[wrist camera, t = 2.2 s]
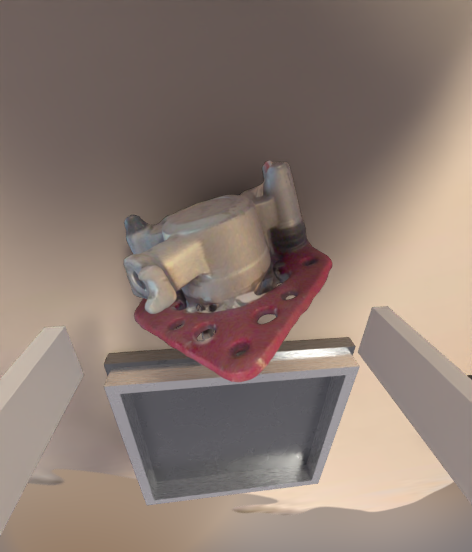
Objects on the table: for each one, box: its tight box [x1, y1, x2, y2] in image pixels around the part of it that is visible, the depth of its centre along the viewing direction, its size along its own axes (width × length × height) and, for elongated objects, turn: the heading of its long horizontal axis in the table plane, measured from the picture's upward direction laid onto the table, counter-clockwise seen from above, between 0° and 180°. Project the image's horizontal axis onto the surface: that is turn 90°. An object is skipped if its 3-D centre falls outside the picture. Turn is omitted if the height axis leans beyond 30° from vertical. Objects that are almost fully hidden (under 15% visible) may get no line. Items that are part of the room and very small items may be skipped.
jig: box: [104, 337, 359, 505], centre depth 27 cm, size 22×22×3 cm
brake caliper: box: [124, 161, 332, 382], centre depth 14 cm, size 11×11×12 cm
